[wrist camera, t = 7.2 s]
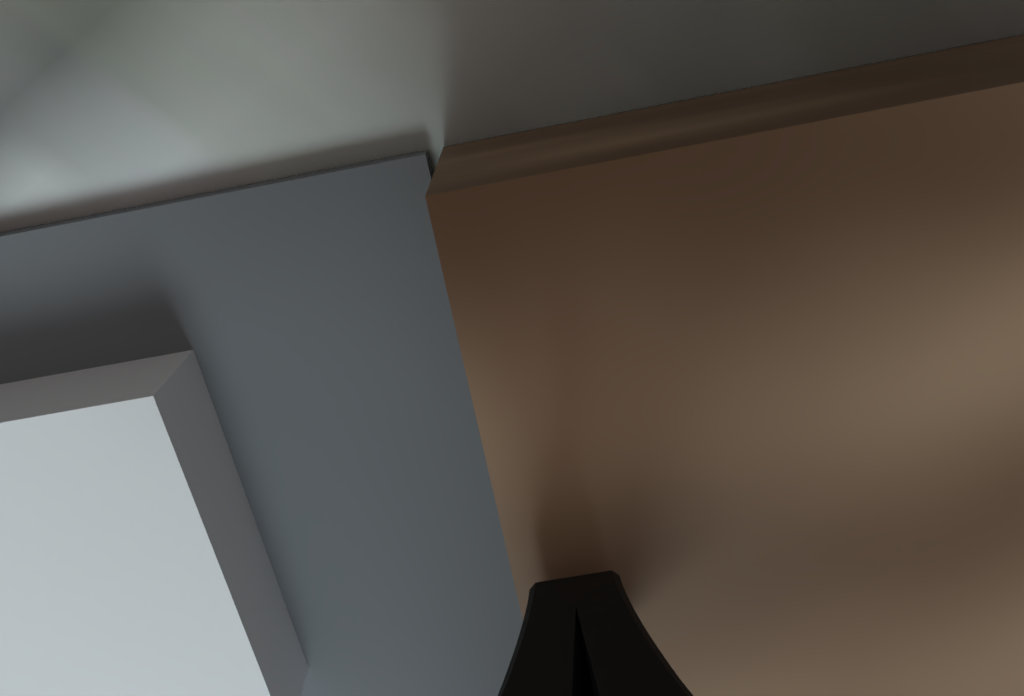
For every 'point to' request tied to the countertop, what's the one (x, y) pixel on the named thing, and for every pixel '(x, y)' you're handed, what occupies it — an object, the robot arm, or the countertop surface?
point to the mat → (307, 402)
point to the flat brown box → (765, 369)
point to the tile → (132, 543)
